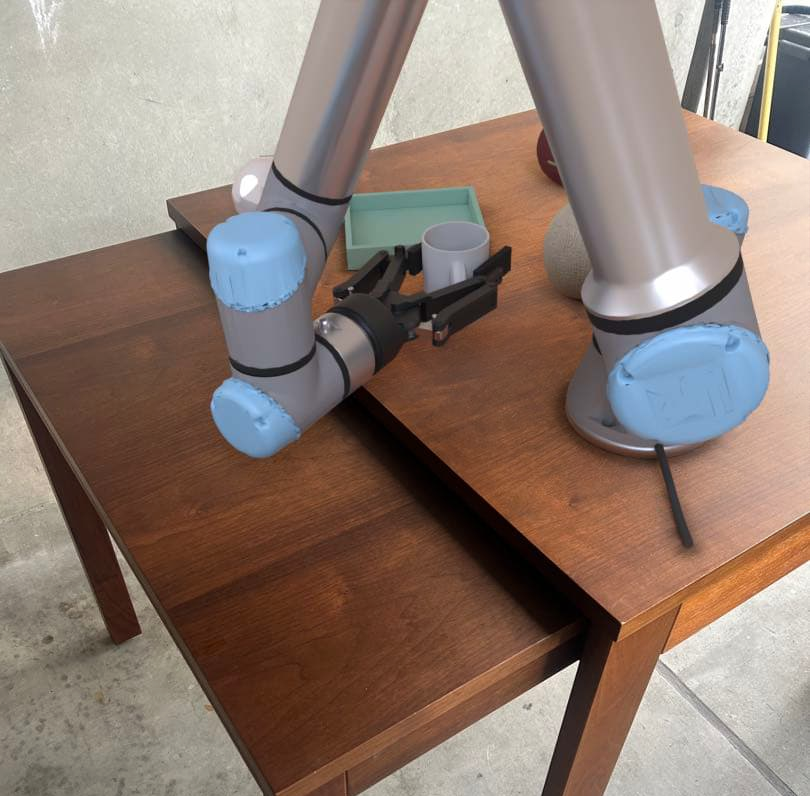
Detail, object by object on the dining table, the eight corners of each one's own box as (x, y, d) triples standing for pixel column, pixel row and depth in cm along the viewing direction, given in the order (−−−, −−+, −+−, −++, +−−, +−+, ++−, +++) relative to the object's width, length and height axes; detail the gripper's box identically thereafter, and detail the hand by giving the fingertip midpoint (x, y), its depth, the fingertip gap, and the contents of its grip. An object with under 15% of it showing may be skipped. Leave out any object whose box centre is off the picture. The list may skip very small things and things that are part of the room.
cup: (484, 293, 100) (486, 219, 94) (493, 340, 93) (496, 263, 87) (422, 297, 100) (419, 223, 94) (427, 344, 93) (424, 267, 87)
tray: (489, 260, 114) (489, 239, 112) (348, 270, 113) (346, 248, 111) (472, 206, 126) (473, 185, 123) (345, 214, 125) (343, 194, 123)
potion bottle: (259, 254, 120) (272, 219, 132) (311, 210, 117) (320, 178, 128) (210, 200, 116) (229, 168, 128) (263, 153, 112) (277, 125, 124)
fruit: (644, 308, 104) (667, 185, 94) (552, 319, 103) (563, 195, 93) (616, 267, 111) (634, 148, 101) (529, 276, 111) (538, 157, 100)
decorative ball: (568, 202, 125) (575, 130, 118) (520, 181, 131) (524, 111, 123) (615, 182, 129) (625, 112, 122) (566, 163, 135) (573, 94, 128)
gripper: (435, 342, 76) (561, 238, 88) (262, 282, 85) (399, 195, 97) (436, 411, 81) (555, 304, 94) (274, 348, 90) (402, 257, 103)
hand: (475, 248), depth 95 cm, fingers closed on cup, 8 cm apart
